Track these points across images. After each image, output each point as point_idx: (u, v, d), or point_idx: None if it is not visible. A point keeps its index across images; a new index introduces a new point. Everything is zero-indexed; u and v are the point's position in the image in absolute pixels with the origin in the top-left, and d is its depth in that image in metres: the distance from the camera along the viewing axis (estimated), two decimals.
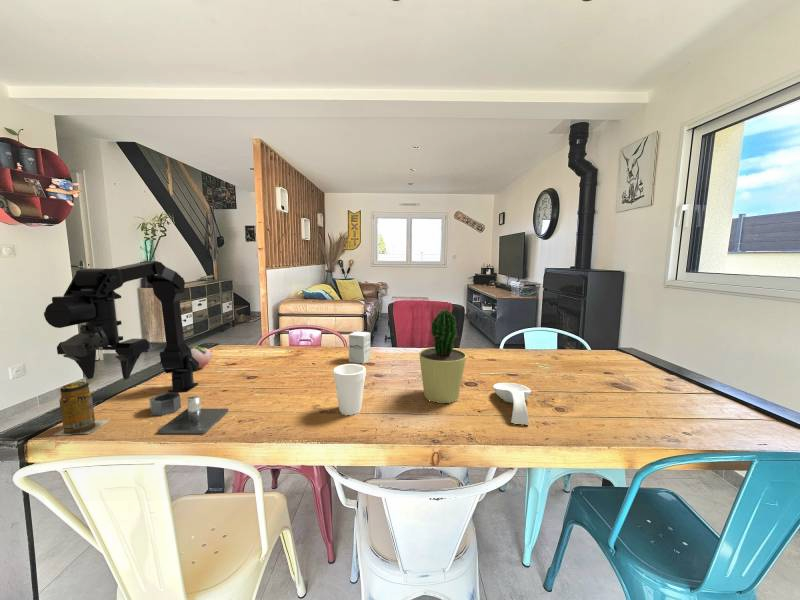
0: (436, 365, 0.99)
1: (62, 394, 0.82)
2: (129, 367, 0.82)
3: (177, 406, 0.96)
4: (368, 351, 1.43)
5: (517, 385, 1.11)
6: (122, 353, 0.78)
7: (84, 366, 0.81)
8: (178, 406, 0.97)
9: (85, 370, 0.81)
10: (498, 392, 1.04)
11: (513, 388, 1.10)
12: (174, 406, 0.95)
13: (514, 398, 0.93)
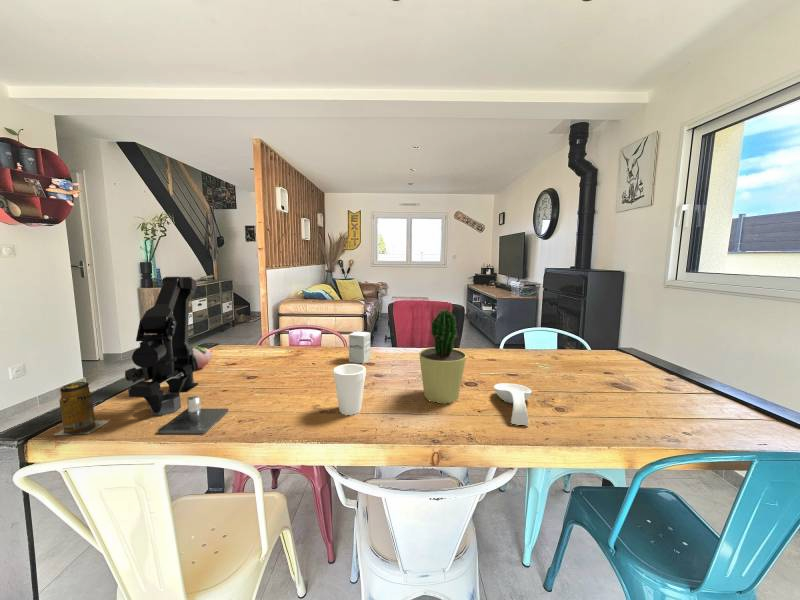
0: (436, 365, 0.99)
1: (62, 394, 0.82)
2: (153, 404, 0.91)
3: (177, 406, 0.96)
4: (368, 351, 1.43)
5: (518, 386, 1.10)
6: None
7: (170, 390, 0.99)
8: (178, 406, 0.97)
9: None
10: (498, 392, 1.03)
11: (514, 389, 1.10)
12: (174, 406, 0.95)
13: (514, 399, 0.92)
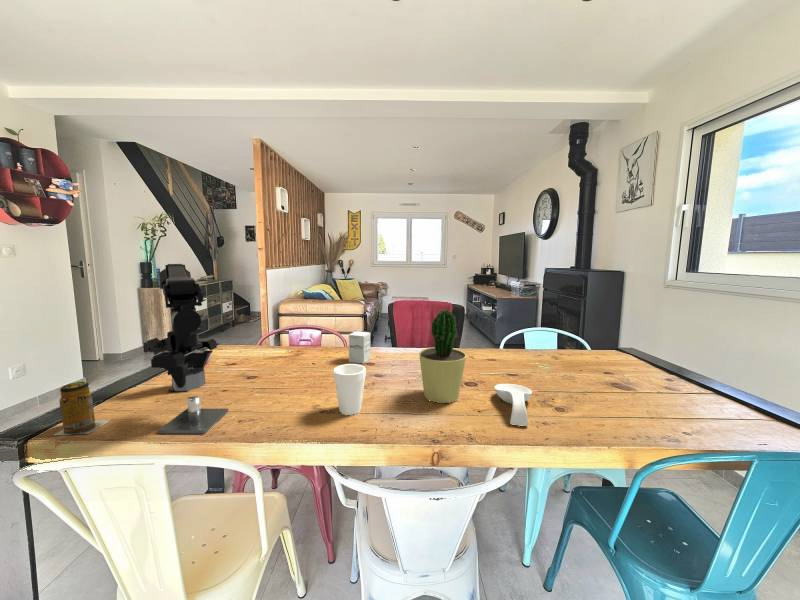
0: (436, 365, 0.99)
1: (62, 394, 0.82)
2: (176, 378, 0.83)
3: (202, 381, 0.88)
4: (368, 351, 1.43)
5: (519, 386, 1.10)
6: None
7: (193, 365, 0.92)
8: (202, 382, 0.89)
9: None
10: (499, 393, 1.03)
11: (515, 389, 1.10)
12: (199, 381, 0.87)
13: (514, 399, 0.92)
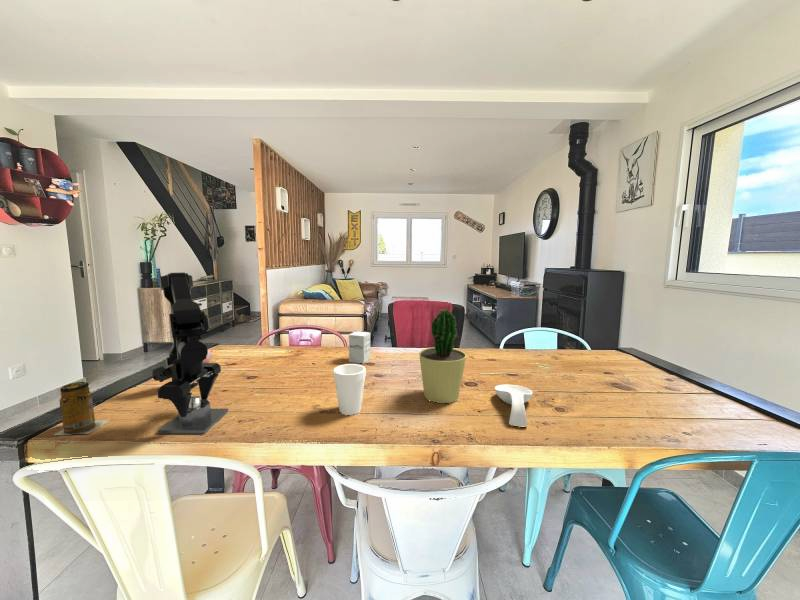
0: (436, 365, 0.99)
1: (62, 394, 0.82)
2: (180, 407, 0.83)
3: (207, 414, 0.89)
4: (368, 351, 1.43)
5: (519, 387, 1.09)
6: None
7: (200, 389, 0.93)
8: (208, 415, 0.90)
9: (200, 392, 0.93)
10: (499, 393, 1.03)
11: (515, 390, 1.09)
12: (204, 414, 0.88)
13: (513, 400, 0.92)
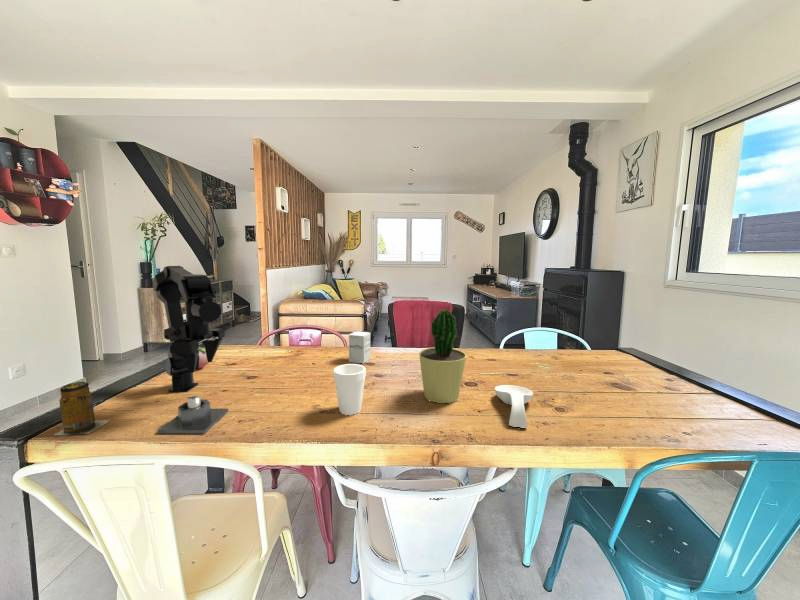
0: (436, 365, 0.99)
1: (62, 394, 0.82)
2: (189, 363, 0.93)
3: (207, 414, 0.89)
4: (368, 351, 1.43)
5: (520, 388, 1.08)
6: None
7: (206, 351, 1.03)
8: (208, 415, 0.90)
9: (206, 354, 1.03)
10: (499, 394, 1.02)
11: (516, 391, 1.08)
12: (204, 414, 0.88)
13: (513, 401, 0.91)
